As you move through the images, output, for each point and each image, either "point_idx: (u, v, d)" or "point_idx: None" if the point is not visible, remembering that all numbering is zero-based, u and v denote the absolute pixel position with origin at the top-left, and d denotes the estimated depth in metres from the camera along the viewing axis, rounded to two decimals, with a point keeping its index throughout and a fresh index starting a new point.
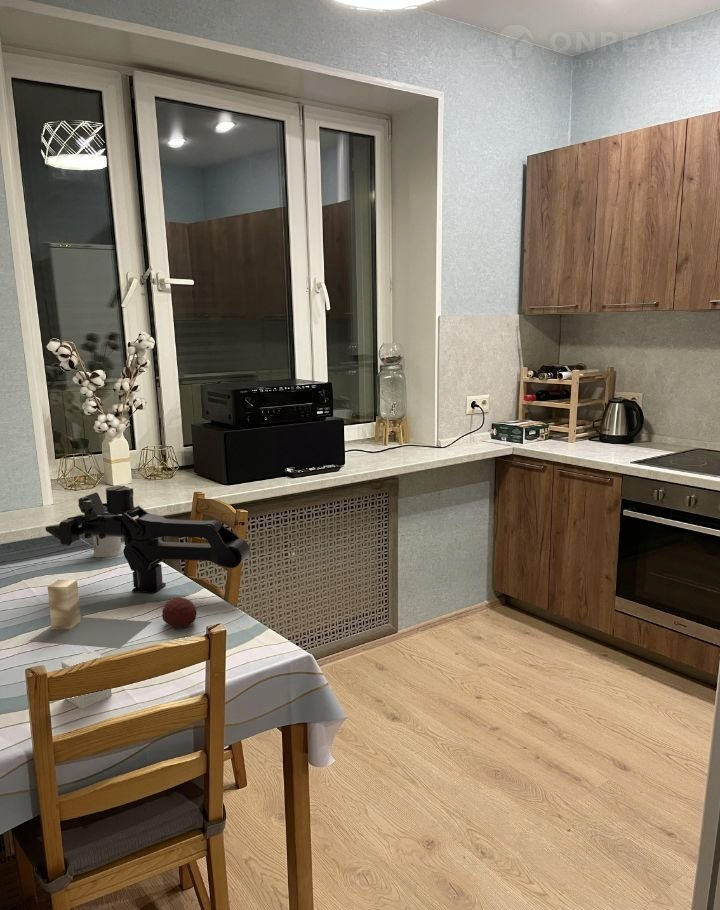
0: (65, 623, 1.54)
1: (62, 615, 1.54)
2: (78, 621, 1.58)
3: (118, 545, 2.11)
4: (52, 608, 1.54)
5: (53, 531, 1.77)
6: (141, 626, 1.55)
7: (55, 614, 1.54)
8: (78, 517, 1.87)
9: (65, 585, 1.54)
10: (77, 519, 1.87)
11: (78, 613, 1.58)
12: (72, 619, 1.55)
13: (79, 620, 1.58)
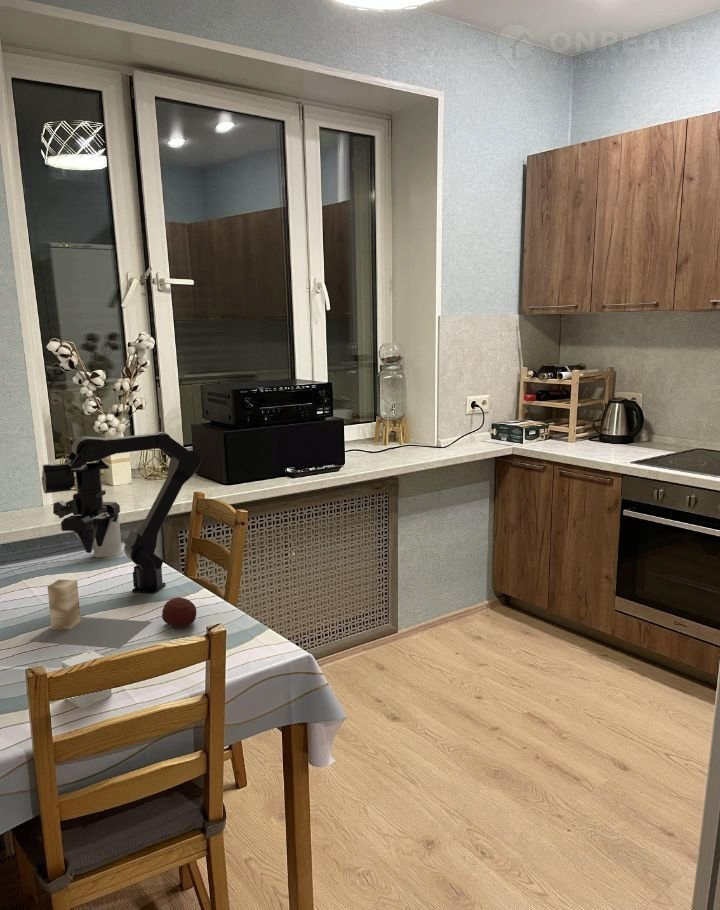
0: (65, 623, 1.54)
1: (62, 615, 1.54)
2: (78, 621, 1.58)
3: (118, 545, 2.11)
4: (52, 608, 1.54)
5: (87, 542, 1.68)
6: (141, 626, 1.55)
7: (55, 614, 1.54)
8: (95, 533, 1.74)
9: (65, 585, 1.54)
10: (98, 534, 1.74)
11: (78, 613, 1.58)
12: (72, 619, 1.55)
13: (79, 620, 1.58)
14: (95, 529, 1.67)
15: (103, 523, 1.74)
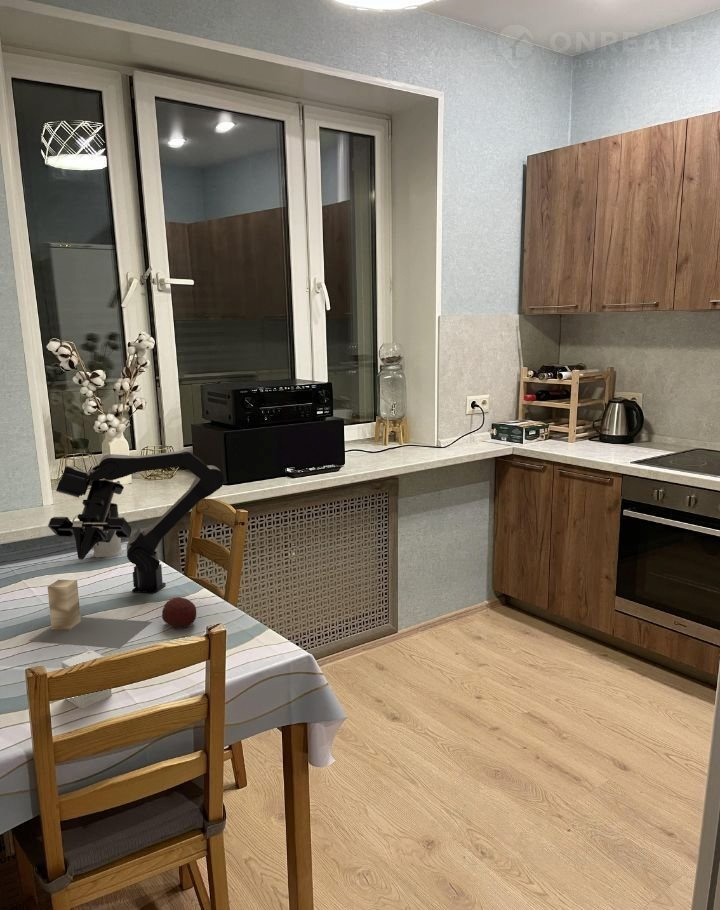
0: (65, 623, 1.54)
1: (62, 615, 1.54)
2: (78, 621, 1.58)
3: (118, 545, 2.11)
4: (52, 608, 1.54)
5: None
6: (141, 626, 1.55)
7: (55, 614, 1.54)
8: None
9: (65, 585, 1.54)
10: None
11: (78, 613, 1.58)
12: (72, 619, 1.55)
13: (79, 620, 1.58)
14: (77, 529, 1.64)
15: None
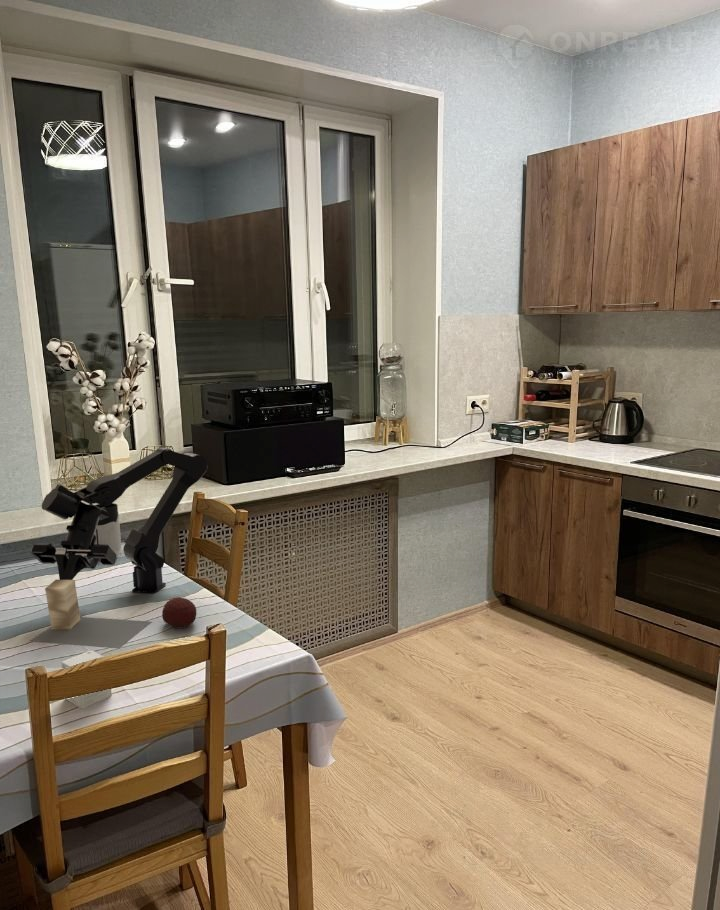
0: (65, 623, 1.54)
1: (61, 616, 1.54)
2: (78, 620, 1.58)
3: (118, 545, 2.11)
4: (51, 609, 1.54)
5: None
6: (141, 626, 1.55)
7: (54, 615, 1.54)
8: None
9: (63, 586, 1.53)
10: None
11: (77, 612, 1.58)
12: (71, 619, 1.55)
13: (79, 619, 1.58)
14: (60, 557, 1.59)
15: None
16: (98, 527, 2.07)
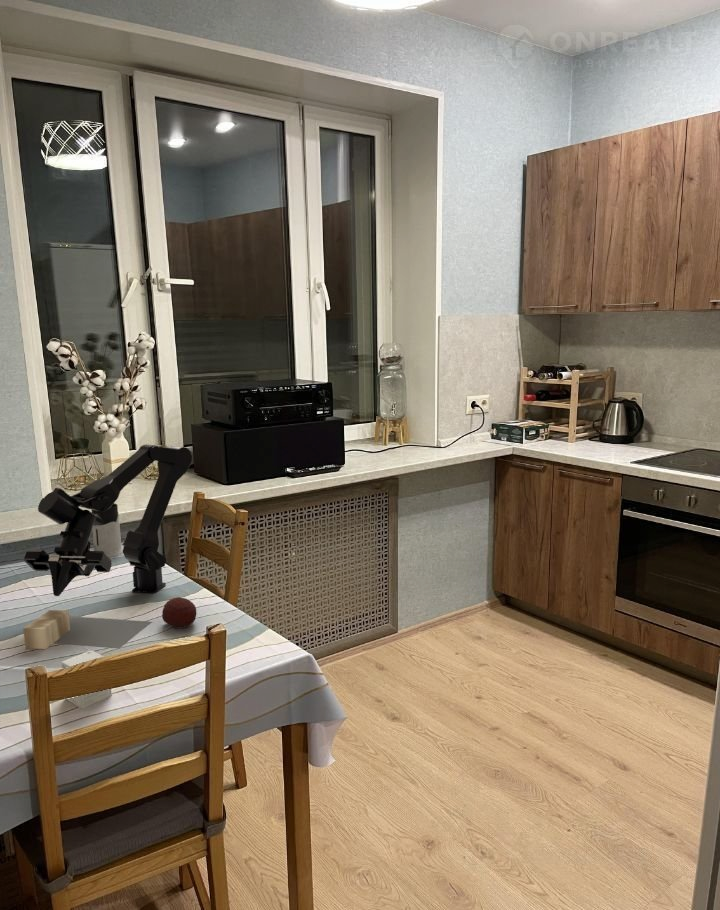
0: None
1: None
2: (68, 615, 1.53)
3: (118, 545, 2.11)
4: None
5: None
6: (141, 626, 1.55)
7: None
8: None
9: (41, 645, 1.45)
10: None
11: (63, 617, 1.52)
12: (65, 628, 1.52)
13: (67, 613, 1.53)
14: (53, 564, 1.54)
15: None
16: (98, 527, 2.07)
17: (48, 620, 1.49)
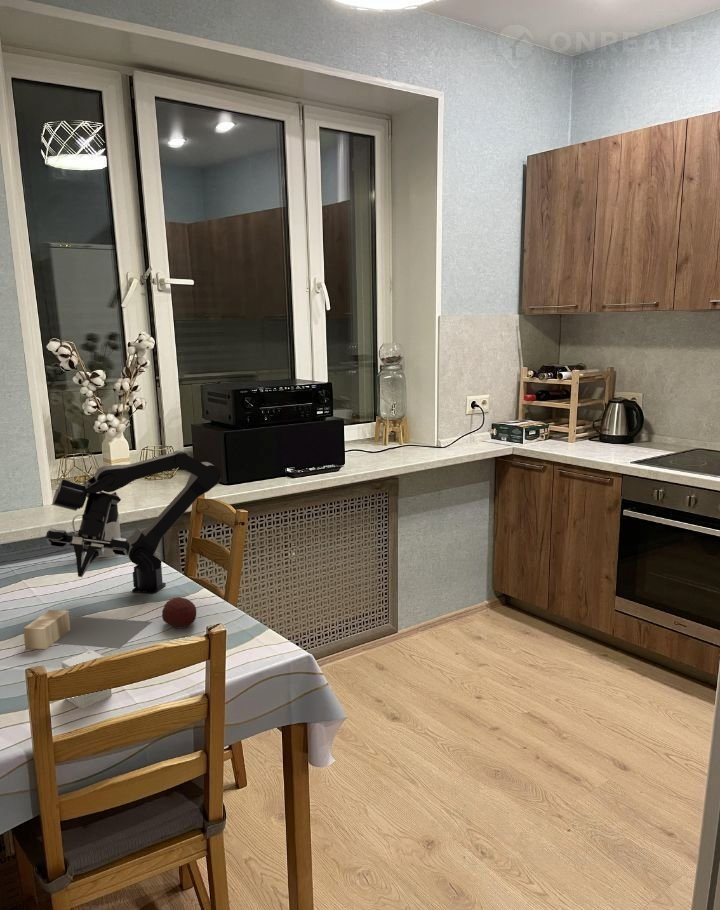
0: None
1: None
2: (68, 615, 1.53)
3: None
4: None
5: None
6: (141, 626, 1.55)
7: None
8: None
9: (41, 645, 1.45)
10: None
11: (63, 617, 1.52)
12: (65, 628, 1.52)
13: (67, 613, 1.53)
14: (78, 547, 1.64)
15: None
16: None
17: (48, 620, 1.49)
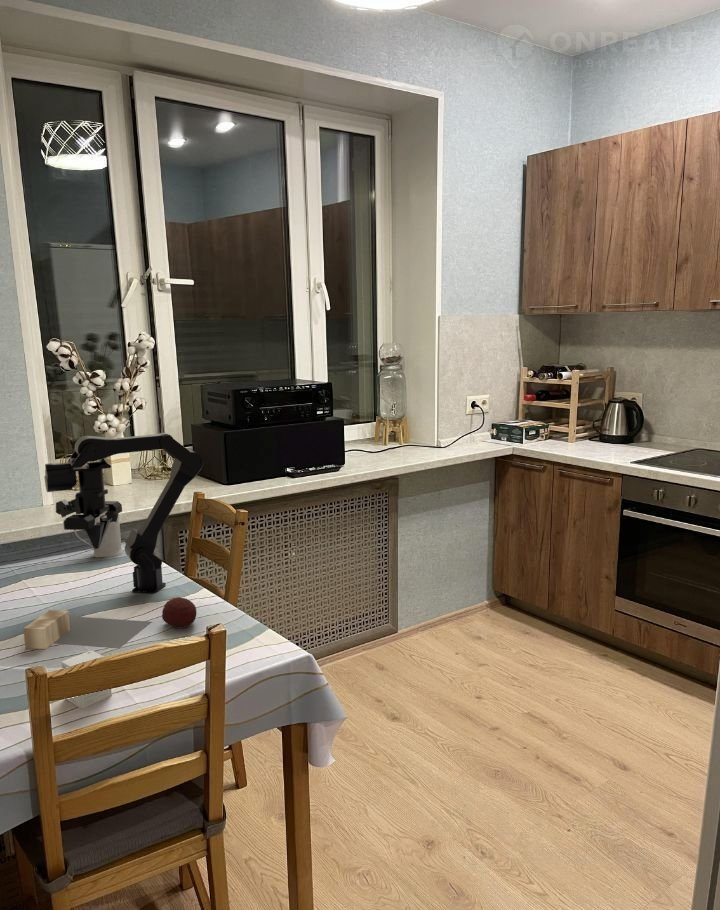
0: None
1: None
2: (68, 615, 1.53)
3: (118, 545, 2.11)
4: None
5: (94, 538, 1.71)
6: (141, 626, 1.55)
7: None
8: None
9: (41, 645, 1.45)
10: None
11: (63, 617, 1.52)
12: (65, 628, 1.52)
13: (67, 613, 1.53)
14: (102, 525, 1.70)
15: None
16: None
17: (48, 620, 1.49)
